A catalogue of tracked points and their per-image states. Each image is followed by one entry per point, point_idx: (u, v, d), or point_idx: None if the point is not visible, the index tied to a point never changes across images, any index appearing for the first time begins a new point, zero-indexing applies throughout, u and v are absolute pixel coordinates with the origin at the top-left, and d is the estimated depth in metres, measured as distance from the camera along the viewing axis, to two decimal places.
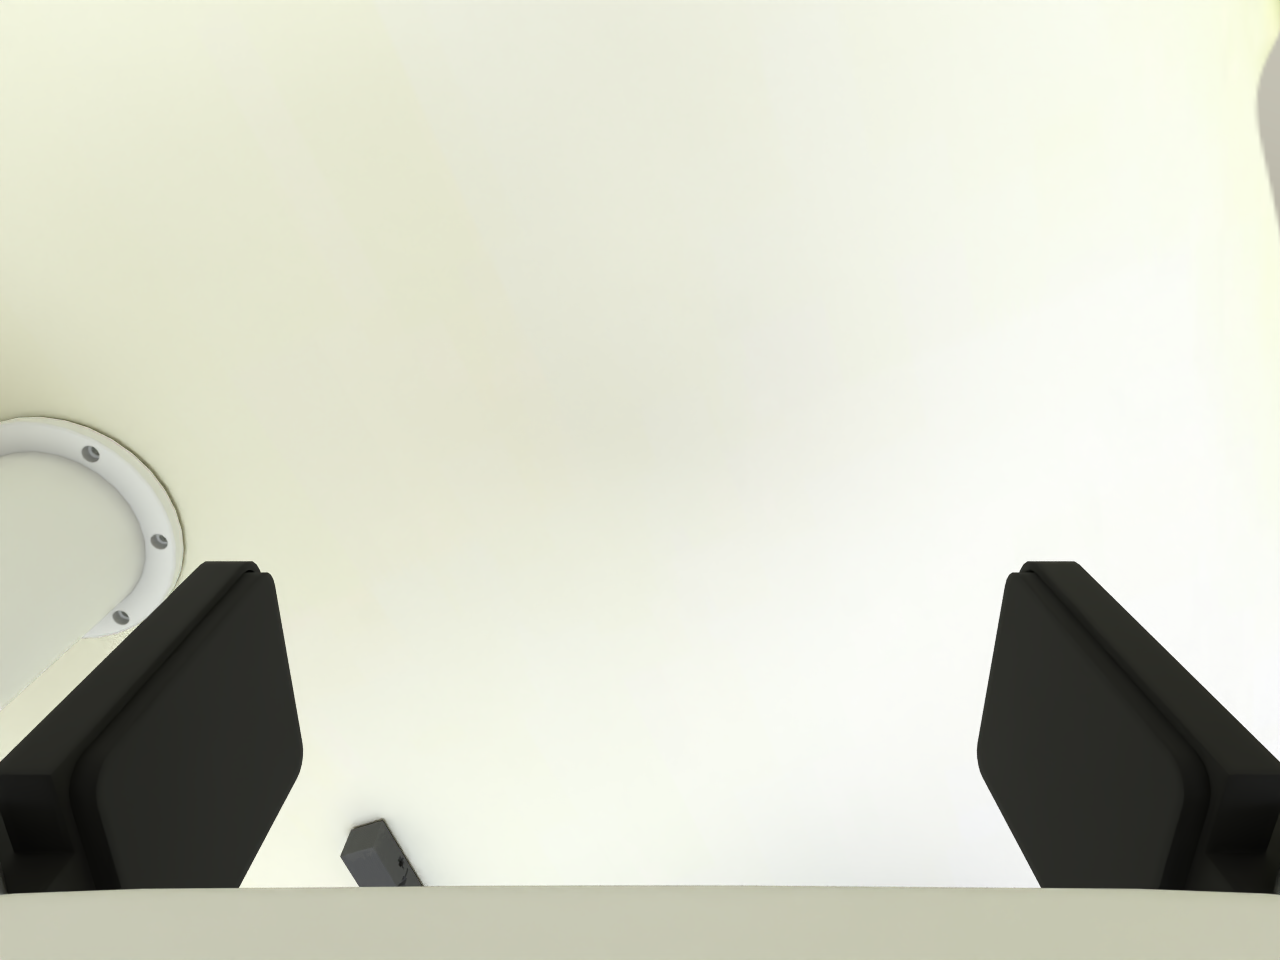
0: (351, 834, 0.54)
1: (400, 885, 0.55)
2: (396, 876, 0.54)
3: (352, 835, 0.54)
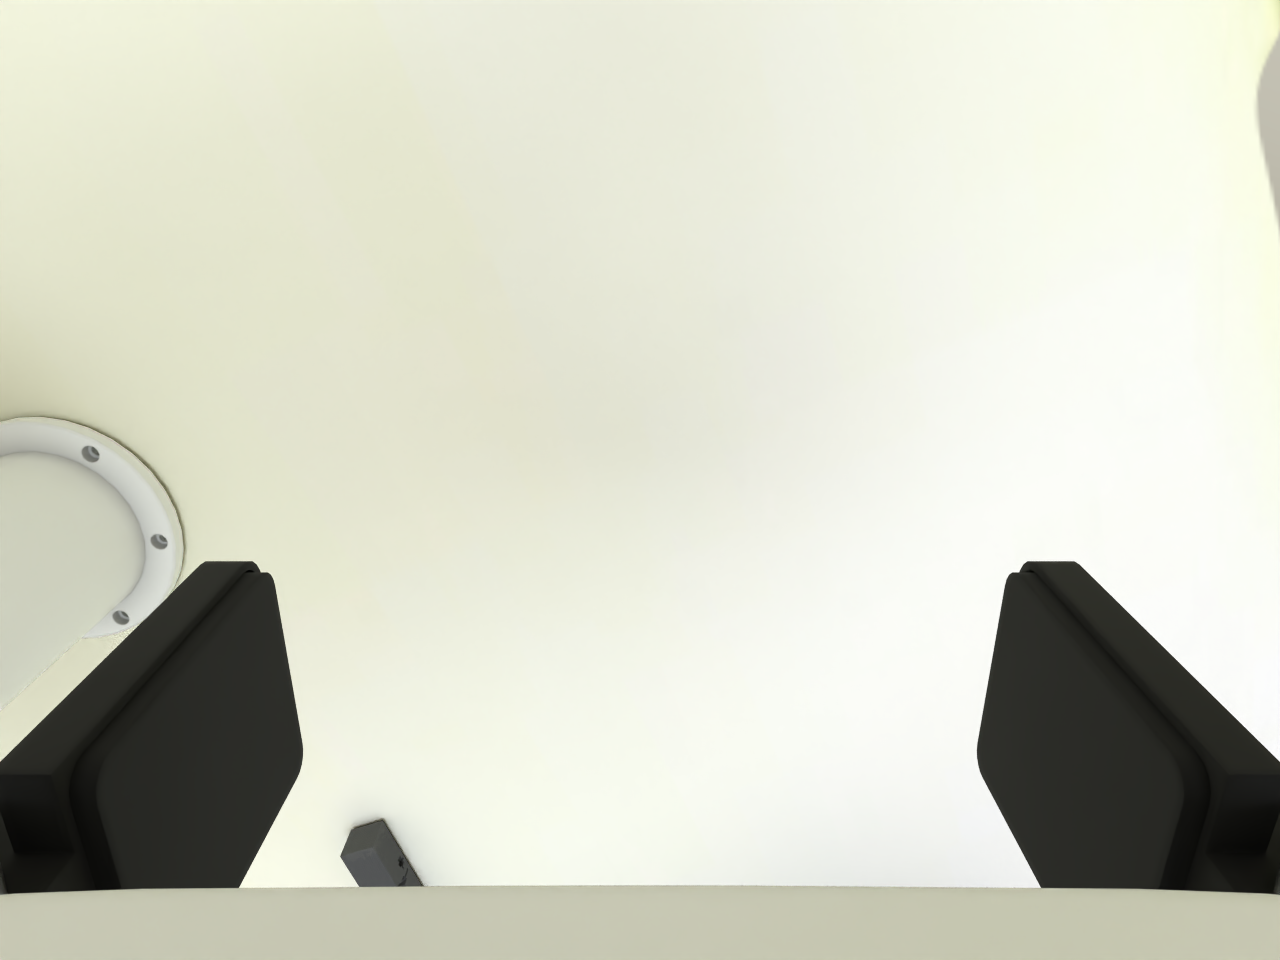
0: (351, 834, 0.54)
1: (400, 885, 0.55)
2: (396, 876, 0.54)
3: (352, 835, 0.54)
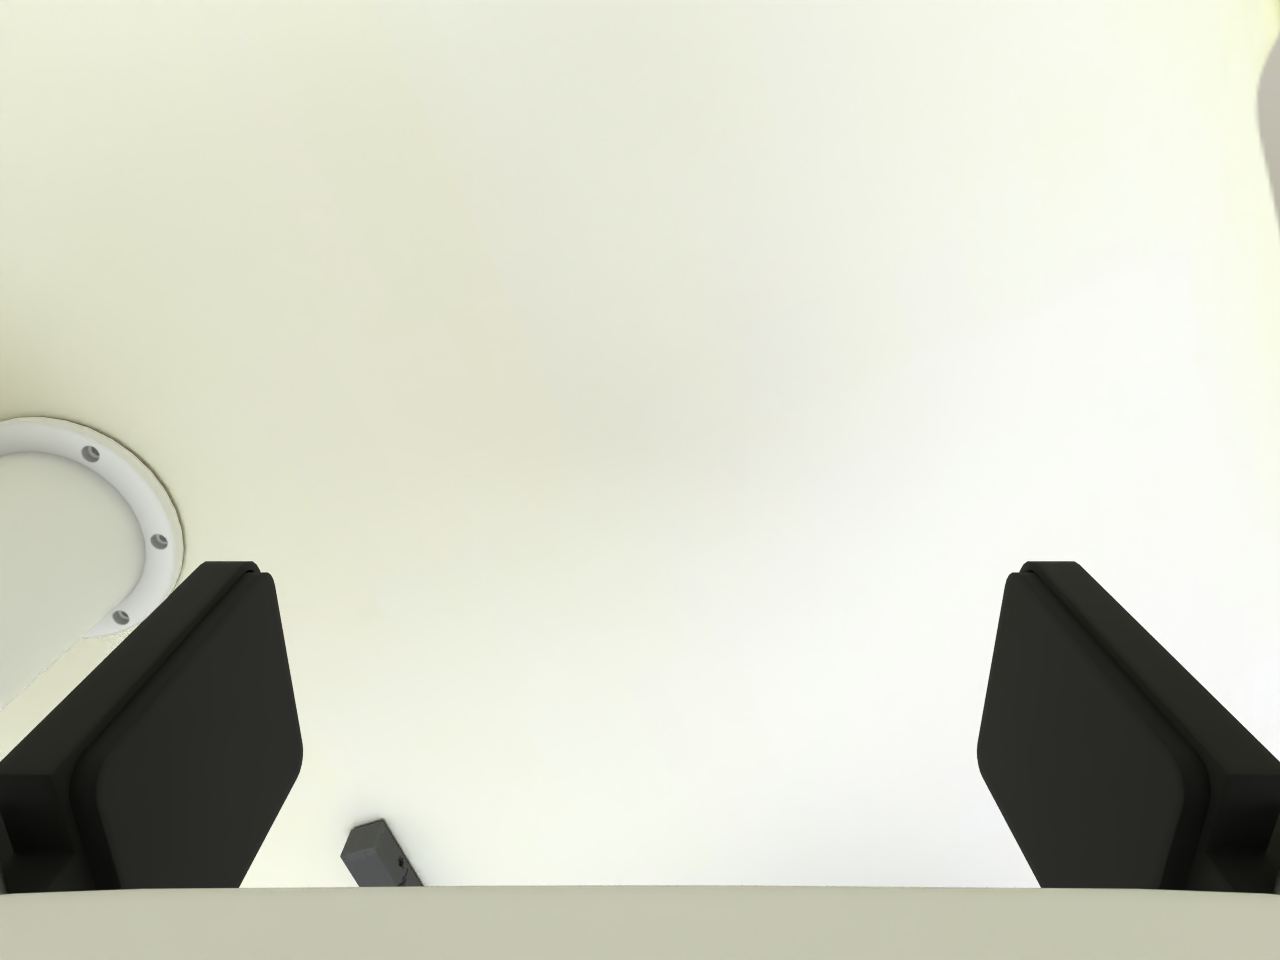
0: (351, 834, 0.54)
1: (400, 885, 0.55)
2: (396, 876, 0.54)
3: (352, 835, 0.54)
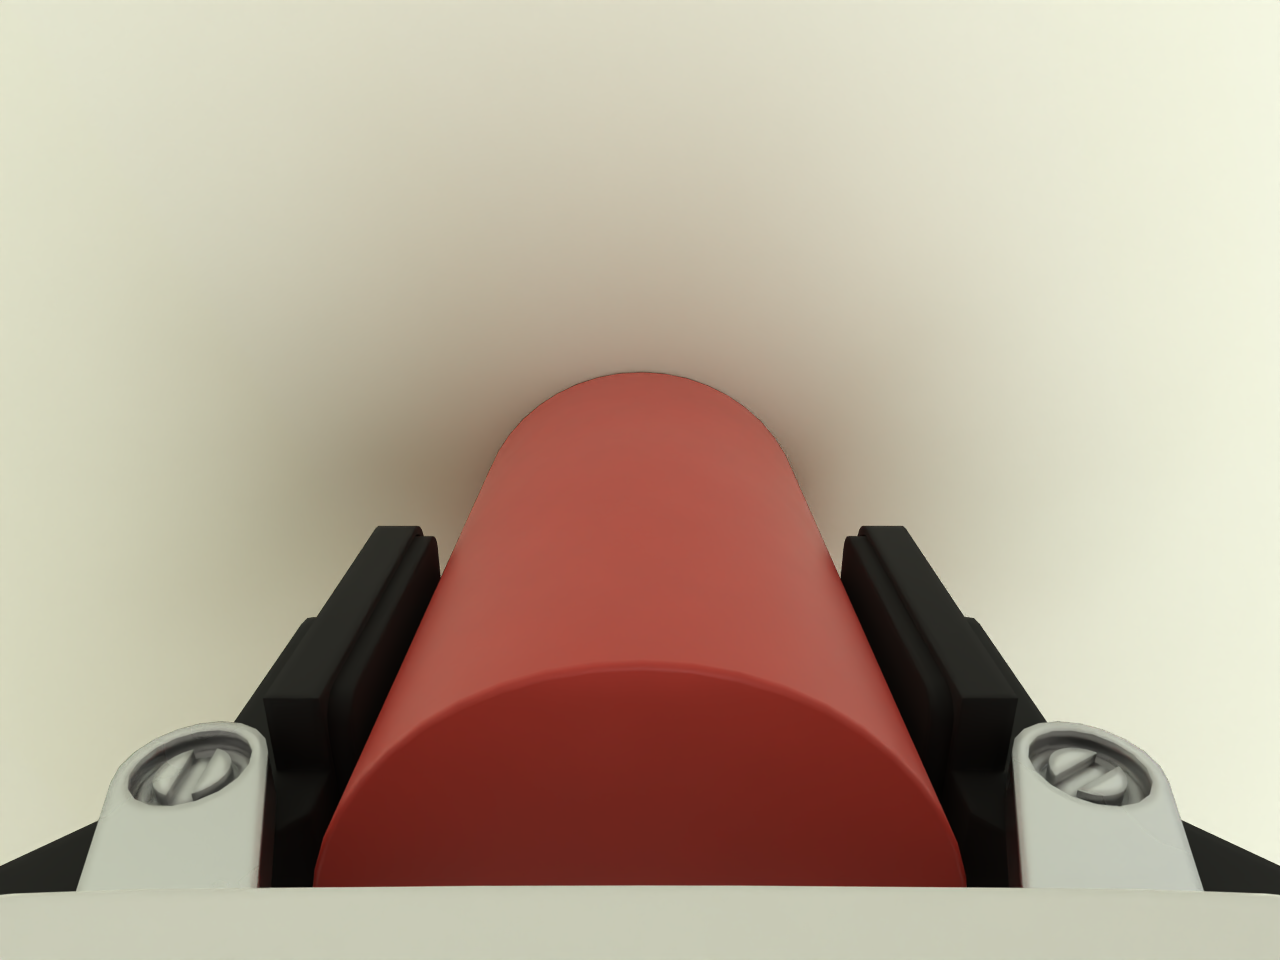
0: None
1: None
2: None
3: None
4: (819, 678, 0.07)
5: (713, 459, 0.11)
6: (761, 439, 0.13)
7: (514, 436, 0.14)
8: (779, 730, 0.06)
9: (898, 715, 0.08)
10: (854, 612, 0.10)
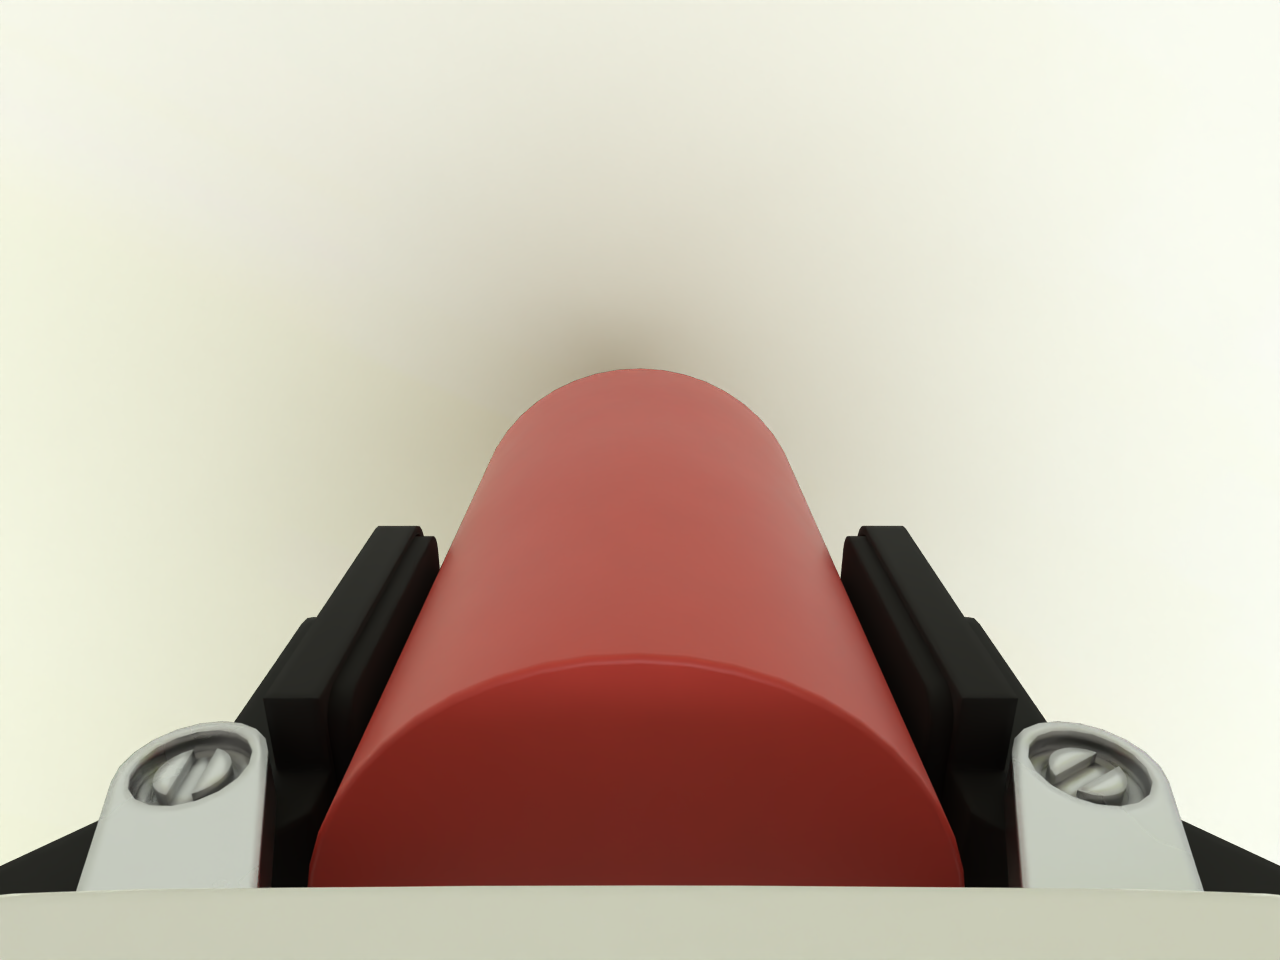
0: None
1: None
2: None
3: None
4: (818, 672, 0.07)
5: (710, 454, 0.11)
6: (759, 435, 0.13)
7: (512, 432, 0.13)
8: (775, 723, 0.06)
9: (896, 709, 0.08)
10: (852, 607, 0.09)
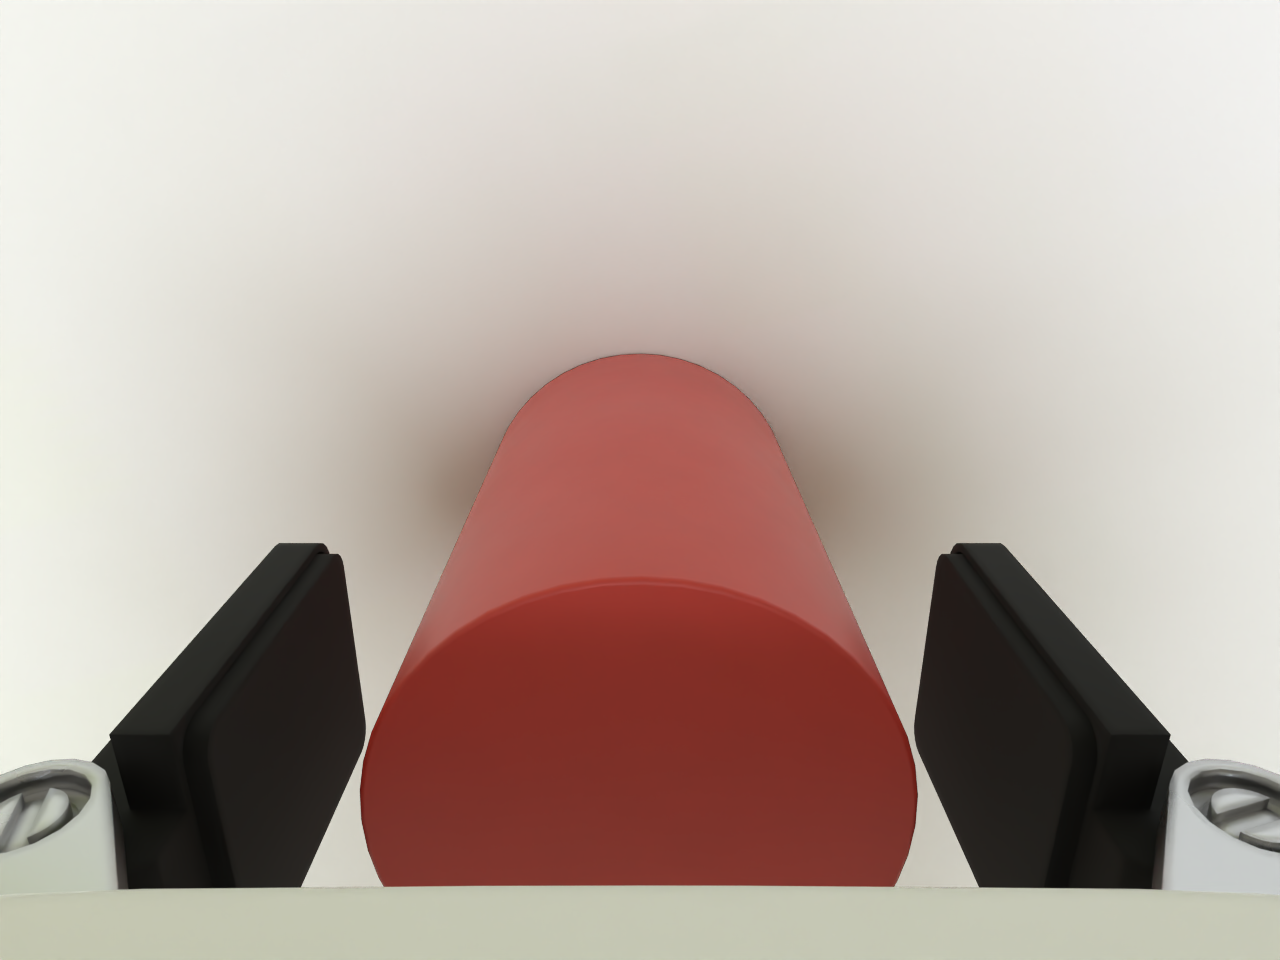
0: None
1: None
2: None
3: None
4: (791, 596, 0.08)
5: (703, 426, 0.12)
6: (749, 413, 0.14)
7: (523, 412, 0.15)
8: (755, 637, 0.08)
9: (860, 636, 0.09)
10: (827, 558, 0.11)
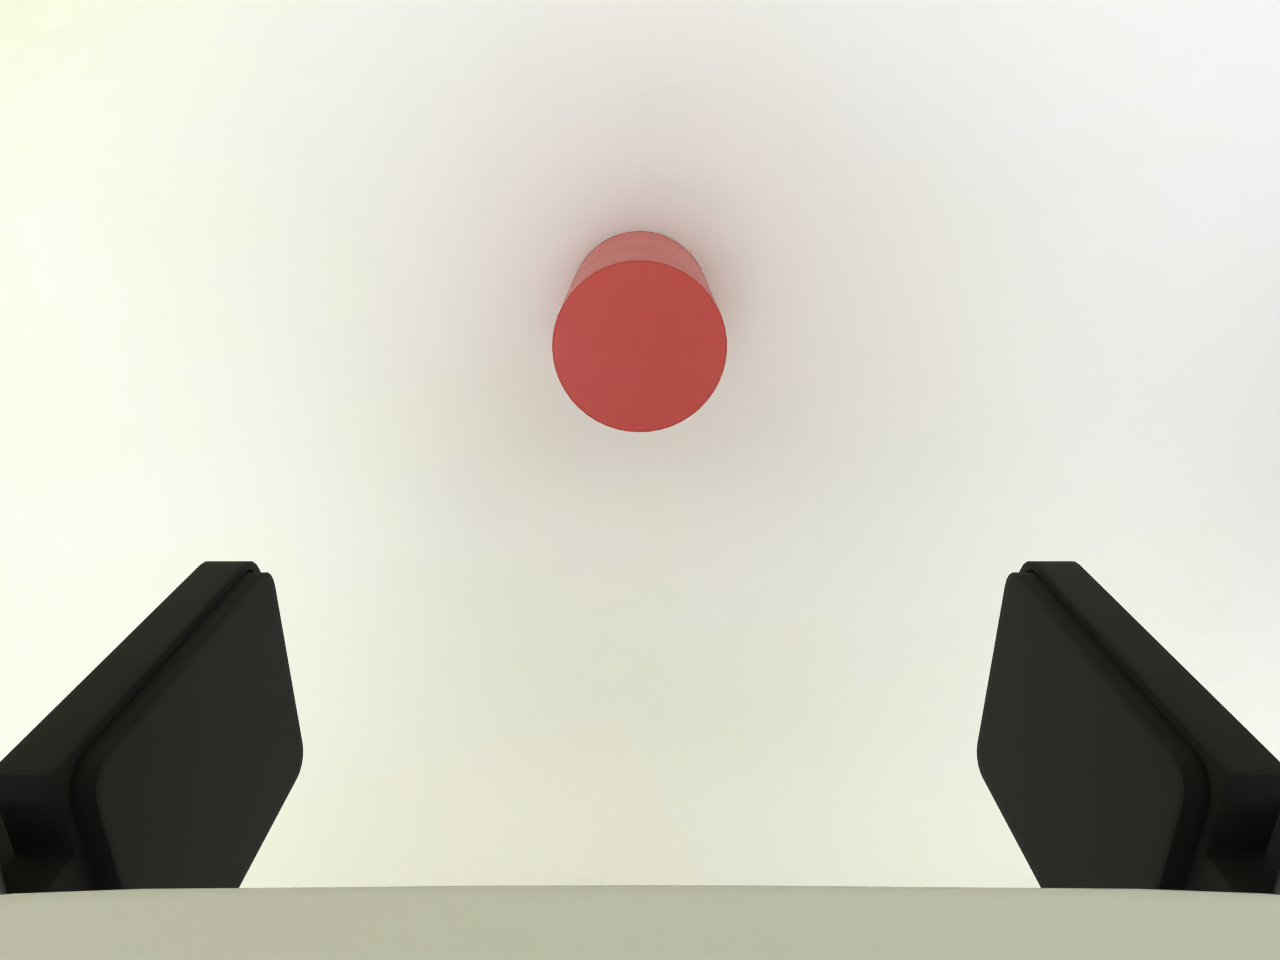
0: None
1: None
2: None
3: None
4: (685, 271, 0.27)
5: (664, 246, 0.31)
6: (687, 253, 0.33)
7: (588, 255, 0.33)
8: (673, 279, 0.26)
9: (711, 295, 0.28)
10: (708, 288, 0.29)
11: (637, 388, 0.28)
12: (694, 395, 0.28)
